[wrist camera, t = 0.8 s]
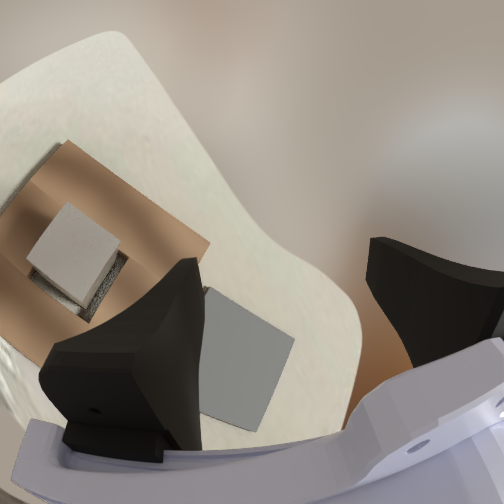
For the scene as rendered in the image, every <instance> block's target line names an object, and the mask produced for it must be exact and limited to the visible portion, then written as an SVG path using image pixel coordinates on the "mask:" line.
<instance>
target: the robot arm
mask: <svg viewBox="0 0 504 504" xmlns="http://www.w3.org/2000/svg"><path fill="white" fill-rule="evenodd" d="M366 282H367V284H368V286H369V288H370V290H371V292H372V294H373V296H374V298H375V300H376V301H377V303H378V304H379V306H380V307H381V309H382V310H383V312H384V313H385V315H386V316H387V318H388V319H389V321H390V322H391V324H392V325H393V327H394V328H395V330H396V331H397V333H398V335H399V337H400V338H401V340H402V342H403V344H404V346H405V349H406V351H407V353H408V355H409V357H410V360H411V363H412V365H413V369H411V370H408V371H406V372H404V373H401V374H399V375H397V376H395V377H393V378H390V379H389V380H386V381H384V382H383V383H382V384H380V385H379V386H378V387H376V388H375V389H374V390H372V391H371V392H369V393H368V394H367V395H365V396H364V397H363V399H362V400H361V401H360V403H359V404H358V405H357V407H356V408H355V409H354V411H353V412H352V414H351V415H350V417H349V420H348V423H347V425H346V428H345V429H344V430H342V431H339V432H336V433H333V434H331V435H327V436H323V437H318V438H313V439H308V440H303V441H297V442H291V443H285V444H278V445H271V446H263V447H253V448H243V449H230V450H208V451H202V442H201V428H200V410H199V364H200V355H201V348H202V340H203V332H204V324H205V298H204V293H203V288H202V283H201V278H200V272H199V267H198V262H197V257H192V258H183V259H181V260H179V261H178V262H177V263H176V264H175V265H174V267H173V268H172V269H171V270H170V271H169V272H168V273H167V274H166V275H165V276H164V277H163V278H162V279H161V280H160V281H159V282H158V283H157V284H156V285H155V286H154V287H152V288H151V289H150V290H149V291H148V292H147V293H146V294H145V295H144V296H142V297H141V298H140V299H139V300H138V301H136V302H135V303H134V304H132V305H131V306H130V307H128V308H127V309H125V310H124V311H122V312H121V313H119V314H117V315H116V316H114V317H112V318H111V319H109V320H108V321H106V322H104V323H102V324H100V325H98V326H96V327H94V328H92V329H90V330H88V331H86V332H84V333H81V334H79V335H76V336H74V337H71V338H68V339H66V340H63V341H60V342H57V343H54V345H53V347H52V349H51V351H50V353H49V354H48V356H47V358H46V360H45V362H44V364H43V366H42V368H41V370H40V372H39V382H40V385H41V388H42V390H43V391H44V393H45V394H46V396H47V397H48V399H49V400H50V401H51V402H52V403H53V405H54V406H55V407H56V408H57V409H58V410H59V411H60V413H61V414H62V415H63V416H64V417H65V418H66V419H67V420H68V422H67V425H66V428H65V429H64V428H62V427H61V426H59V425H56V424H53V423H49V422H44V421H40V420H36V419H30V422H29V424H28V427H27V430H26V432H25V435H24V438H23V441H22V444H21V447H20V450H19V453H18V456H17V459H16V462H15V465H14V469H13V472H12V476H11V480H12V482H13V483H15V484H17V485H18V486H20V487H21V488H23V489H24V490H26V491H27V492H29V493H31V494H33V495H34V496H36V497H38V498H39V499H41V500H43V501H45V502H46V503H48V504H504V272H501V271H493V270H492V271H491V270H486V269H481V268H476V267H471V266H467V265H462V264H459V263H456V262H452V261H449V260H446V259H443V258H440V257H437V256H435V255H432V254H429V253H427V252H424V251H422V250H419V249H416V248H414V247H412V246H409V245H407V244H404V243H402V242H399V241H396V240H393V239H390V238H386V237H376V238H370V247H369V256H368V264H367V272H366Z"/></svg>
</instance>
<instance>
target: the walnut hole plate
mask: <svg viewBox="0 0 504 504" xmlns="http://www.w3.org/2000/svg"><path fill="white" fill-rule="evenodd" d="M67 201H68V202H70V203H71V204H72V205H73V206H75V207H76V208H77V209H79V210H80V211H81V212H83V213H84V214H85V215H86V216H88V217H89V218H90V219H92V220H93V221H94V222H96V223H97V224H98V225H100V226H101V227H102V228H104V229H105V230H107V231H108V232H109V233H111V234H112V235H113V236H115V237H116V238H117V239H119V240H120V241H121V243H120V246H119V250H118V254H119V255H120V256H122V257H123V258H125V259H126V260H127V261H126V263H125V265H124V266H123V268H122V269H121V271H120V272H119V274H118V276H117V277H116V279H115V280H114V282H113V284H112V285H111V287H110V289H109V290H108V292H107V294H106V295H105V297H104V299H103V300H102V302H101V304H100V305H99V307H98V309H97V311H96V312H95V314H94V316H93V318H92V319H91V321H90V323H89V324H88V323H87V322H86V321H84V320H83V319H81V318H80V317H78V316H77V315H76V314H74V313H73V312H71V311H70V310H69V309H67V308H66V307H65V306H63V305H62V304H61V303H59V302H58V301H57V300H55V299H54V298H53V297H51V296H50V295H49V294H48V293H46V292H45V291H44V290H42V289H41V288H40V287H39V286H38V285H36V284H35V283H34V282H33V281H31V280H30V278H31V277H32V275H33V273H34V272H35V270H36V269H35V268H34V267H33V266H32V265H31V263H30V262H29V261H28V260H27V259H26V258H27V256H28V255H29V253H30V252H31V250H32V249H33V247H34V246H35V244H36V243H37V241H38V240H39V238H40V237H41V236H42V234H43V233H44V231H45V230H46V229H47V227H48V226H49V225H50V223H51V222H52V220H53V219H54V218H55V217H56V215H57V214H58V213H59V211H60V210H61V209H62V208H63V206H64V205H65V204H66V203H67ZM209 245H210V242H209V241H207V240H206V239H204V238H203V237H201V236H200V235H199V234H197V233H196V232H194V231H193V230H192V229H190V228H189V227H187V226H186V225H185V224H183V223H182V222H180V221H179V220H178V219H176V218H175V217H173V216H172V215H171V214H169V213H168V212H166V211H165V210H164V209H162V208H161V207H159V206H158V205H157V204H155V203H154V202H152V201H151V200H150V199H148V198H147V197H146V196H144V195H143V194H141V193H140V192H139V191H137V190H136V189H135V188H133V187H132V186H130V185H129V184H128V183H126V182H125V181H124V180H122V179H121V178H119V177H118V176H117V175H115V174H114V173H113V172H111V171H110V170H109V169H107V168H106V167H104V166H103V165H102V164H100V163H99V162H98V161H96V160H95V159H94V158H92V157H91V156H90V155H88V154H87V153H86V152H84V151H83V150H82V149H80V148H79V147H77V146H76V145H75V144H73V143H72V142H71V141H69V140H67V141H66V142H65V143H64V144H63V145H62V146H61V147H60V148H59V149H58V150H57V151H56V152H55V153H54V154H53V155H52V156H51V157H50V158H49V159H48V160H47V161H46V162H45V163H44V164H43V165H42V167H41V168H40V169H39V170H38V171H37V172H36V173H35V174H34V175H33V177H32V178H31V179H30V180H29V181H28V182H27V184H26V185H25V186H24V187H23V188H22V190H21V191H20V192H19V193H18V194H17V196H16V197H15V198H14V199H13V201H12V202H11V203H10V205H9V206H8V207H7V209H6V210H5V211H4V213H3V214H2V215H1V217H0V336H2V337H3V338H4V339H5V340H6V341H7V342H9V343H10V344H11V345H12V346H13V347H15V348H16V349H17V350H18V351H20V352H21V353H22V354H23V355H25V356H26V357H27V358H29V359H30V360H31V361H32V362H34V363H35V364H37V365H38V366H39V367H41V368H42V366H43V364H44V362H45V360H46V358H47V356H48V354H49V353H50V351H51V349H52V347H53V345H54V343H57V342H60V341H63V340H66V339H68V338H71V337H74V336H76V335H79V334H81V333H84V332H86V331H88V330H90V329H92V328H94V327H96V326H98V325H100V324H102V323H104V322H106V321H108V320H109V319H111V318H112V317H114V316H116V315H117V314H119V313H121V312H122V311H124V310H125V309H127V308H128V307H130V306H131V305H132V304H134V303H135V302H136V301H138V300H139V299H140V298H141V297H142V296H144V295H145V294H146V293H147V292H148V291H149V290H150V289H151V288H152V287H154V286H155V285H156V284H157V283H158V282H159V281H160V280H161V279H162V278H163V277H164V276H165V275H166V274H167V273H168V272H169V271H170V270H171V269H172V268H173V267H174V265H175V264H176V263H177V262H178V261H179V260H181V259H183V258H192V257H197V262H198V264H199V262H200V260H201V259H202V257H203V255H204V253H205V252H206V250H207V248H208V247H209Z"/></svg>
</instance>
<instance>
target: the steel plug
mask: <svg viewBox="0 0 504 504" xmlns="http://www.w3.org/2000/svg"><path fill="white" fill-rule="evenodd" d="M120 243H121V241H120V240H119V239H117V238H116V237H115V236H113V235H112V234H111V233H109V232H108V231H107V230H105V229H104V228H102V227H101V226H100V225H98V224H97V223H96V222H94V221H93V220H92V219H90V218H89V217H88V216H86V215H85V214H84V213H83V212H81V211H80V210H79V209H77V208H76V207H75V206H73V205H72V204H71V203H70V202H68V201H67V203H66V204H65V205H64V206H63V208H62V209H61V210H60V211H59V213H58V214H57V215H56V217H55V218H54V219H53V220H52V222H51V223H50V225H49V226H48V227H47V229H46V230H45V231H44V233H43V234H42V236H41V237H40V238H39V240H38V241H37V243H36V244H35V246H34V247H33V249H32V250H31V252H30V253H29V255H28V256H27V258H26V259H27V260H28V261H29V262H30V263H31V265H32V266H33V267H34V268H35V269H36V270H37V271H38V273H39V274H40V275H41V276H42V277H43V278H44V279H46V280H47V281H48V282H49V283H51V284H52V285H53V286H55V287H56V288H57V289H58V290H60V291H61V292H62V293H64V294H65V295H66V296H68V297H69V298H70V299H72V300H73V301H74V302H76V303H77V304H79V305H80V306H81V307H83V308H84V309H87V307H88V305H89V304H90V302H91V300H92V298H93V297H94V295H95V293H96V292H97V290H98V288H99V287H100V285H101V284H102V282H103V280H104V279H105V277H106V276H107V274H108V272H109V271H110V269H111V268H112V266H113V265H114V263H115V259H116V256H117V253H118V250H119V246H120Z"/></svg>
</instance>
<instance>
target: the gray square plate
mask: <svg viewBox="0 0 504 504" xmlns="http://www.w3.org/2000/svg"><path fill="white" fill-rule="evenodd" d="M204 298H205V324H204V332H203V340H202V348H201V355H200V364H199V410H200V412H201V413H204V414H206V415H209V416H211V417H214V418H216V419H219V420H222V421H224V422H227V423H230V424H233V425H235V426H238V427H241V428H244V429H247V430H250V431H253V432H256V431H257V429H258V427H259V425H260V423H261V420H262V418H263V416H264V414H265V411H266V409H267V407H268V404H269V402H270V400H271V397H272V395H273V393H274V390H275V388H276V386H277V383H278V381H279V378H280V376H281V373H282V371H283V368H284V366H285V363H286V361H287V358H288V356H289V353H290V351H291V348H292V346H293V343H294V340H295V339H294V338H292V337H291V336H289V335H287V334H286V333H284V332H282V331H281V330H279V329H277V328H276V327H274V326H272V325H271V324H269V323H267V322H266V321H264V320H263V319H261V318H259V317H258V316H256V315H254V314H253V313H251V312H250V311H248V310H246V309H245V308H243V307H242V306H240V305H238V304H237V303H235V302H234V301H232V300H230V299H229V298H227V297H226V296H224V295H223V294H221V293H220V292H218V291H216V290H215V289H213V288H212V287H208V289H207V291H206V293H205V295H204Z"/></svg>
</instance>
